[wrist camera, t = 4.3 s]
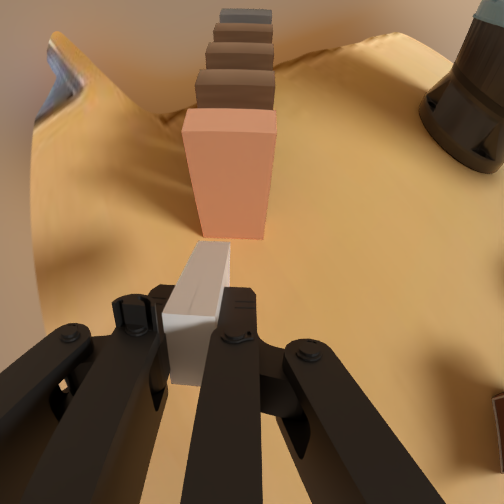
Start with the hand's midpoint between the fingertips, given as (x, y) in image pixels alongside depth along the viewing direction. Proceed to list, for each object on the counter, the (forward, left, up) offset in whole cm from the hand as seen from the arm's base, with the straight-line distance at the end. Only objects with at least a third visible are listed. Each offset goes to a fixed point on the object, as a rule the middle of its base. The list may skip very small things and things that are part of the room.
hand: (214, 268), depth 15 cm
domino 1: (-5, -6, -9) cm, 12 cm away
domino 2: (-7, -10, -9) cm, 15 cm away
